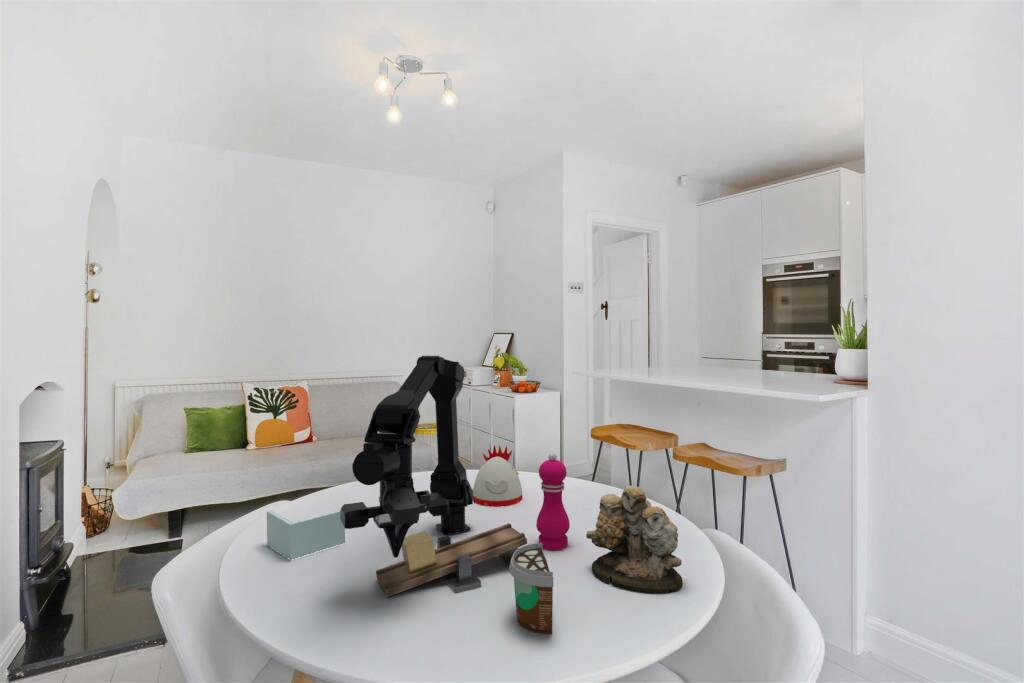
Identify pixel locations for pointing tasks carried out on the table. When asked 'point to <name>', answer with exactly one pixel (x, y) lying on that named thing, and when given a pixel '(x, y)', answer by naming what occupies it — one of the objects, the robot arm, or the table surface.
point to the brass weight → (418, 552)
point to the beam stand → (466, 569)
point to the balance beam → (451, 558)
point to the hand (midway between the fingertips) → (395, 556)
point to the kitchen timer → (497, 481)
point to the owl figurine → (636, 544)
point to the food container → (532, 588)
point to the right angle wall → (304, 534)
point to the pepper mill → (553, 506)
